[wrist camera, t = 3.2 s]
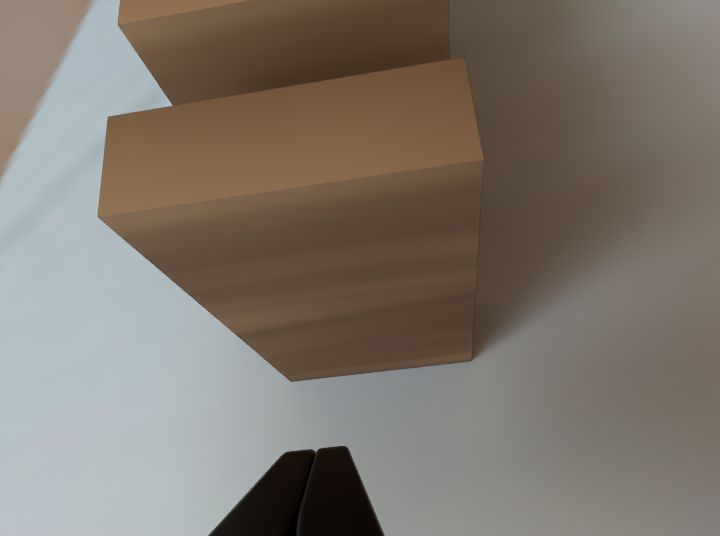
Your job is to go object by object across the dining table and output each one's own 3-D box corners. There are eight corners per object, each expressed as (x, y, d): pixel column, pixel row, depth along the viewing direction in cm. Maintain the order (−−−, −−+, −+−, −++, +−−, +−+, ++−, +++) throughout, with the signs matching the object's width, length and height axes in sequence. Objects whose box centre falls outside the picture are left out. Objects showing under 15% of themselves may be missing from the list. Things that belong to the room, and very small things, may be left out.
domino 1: (454, 250, 18) (447, -37, 9) (287, 273, 18) (118, 24, 9) (447, 202, 19) (433, -111, 9) (285, 225, 19) (125, -50, 10)
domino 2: (471, 361, 17) (483, 159, 7) (291, 381, 17) (96, 217, 8) (462, 305, 17) (464, 56, 8) (289, 327, 18) (107, 116, 9)
